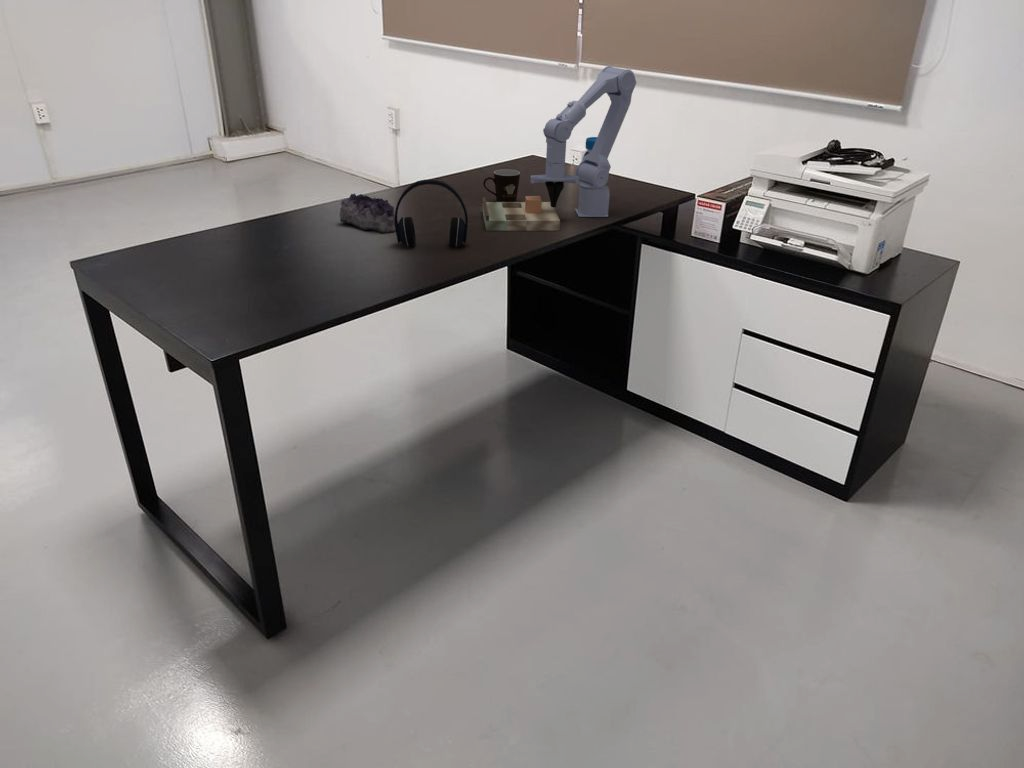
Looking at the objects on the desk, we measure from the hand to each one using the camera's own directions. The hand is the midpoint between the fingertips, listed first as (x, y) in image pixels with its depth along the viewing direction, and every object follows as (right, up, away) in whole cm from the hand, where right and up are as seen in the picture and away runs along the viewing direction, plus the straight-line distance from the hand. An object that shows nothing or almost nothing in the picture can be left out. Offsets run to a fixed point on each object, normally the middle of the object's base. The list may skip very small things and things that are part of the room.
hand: (553, 206), depth 237 cm
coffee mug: (-16, +5, +18) cm, 25 cm away
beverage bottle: (+14, +8, +25) cm, 30 cm away
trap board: (-10, -4, +1) cm, 11 cm away
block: (-6, -1, 0) cm, 6 cm away
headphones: (-35, -16, -21) cm, 44 cm away
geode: (-55, -7, -6) cm, 56 cm away
